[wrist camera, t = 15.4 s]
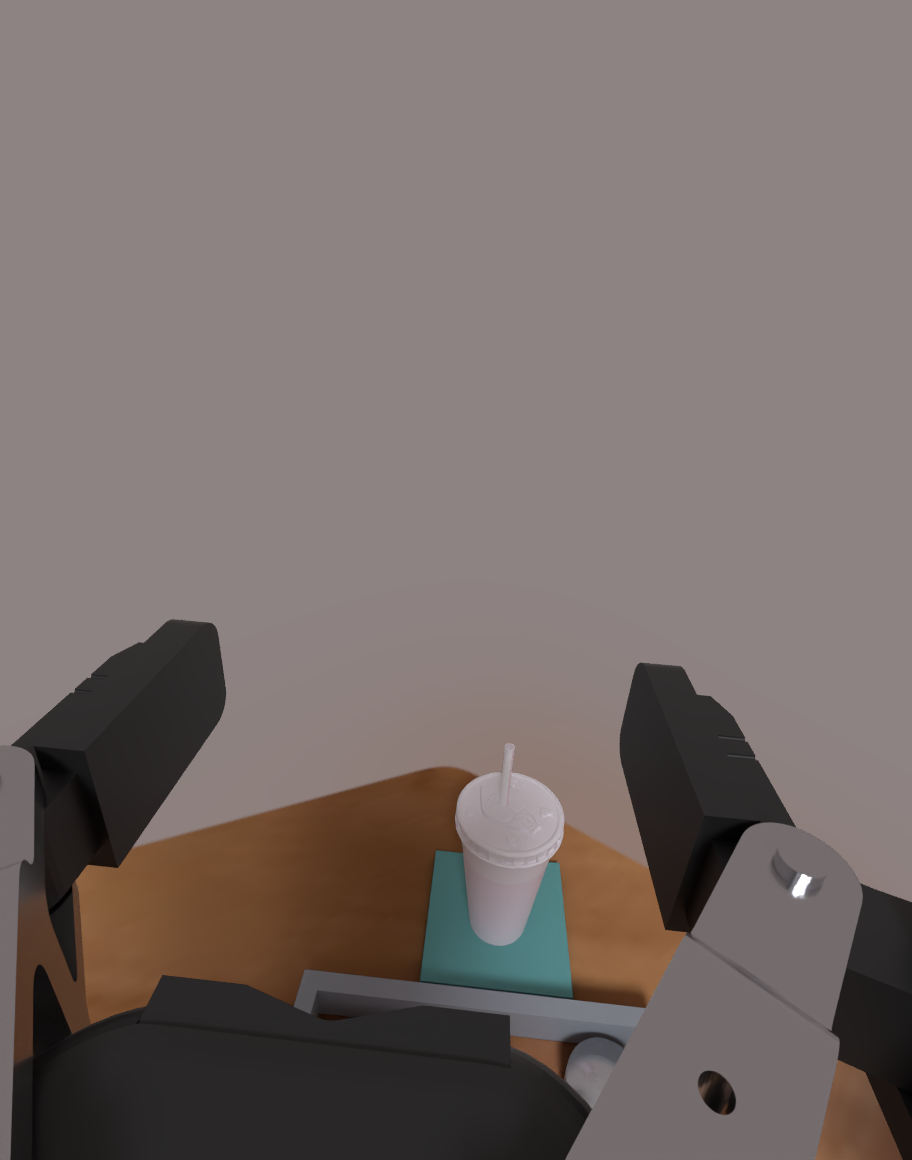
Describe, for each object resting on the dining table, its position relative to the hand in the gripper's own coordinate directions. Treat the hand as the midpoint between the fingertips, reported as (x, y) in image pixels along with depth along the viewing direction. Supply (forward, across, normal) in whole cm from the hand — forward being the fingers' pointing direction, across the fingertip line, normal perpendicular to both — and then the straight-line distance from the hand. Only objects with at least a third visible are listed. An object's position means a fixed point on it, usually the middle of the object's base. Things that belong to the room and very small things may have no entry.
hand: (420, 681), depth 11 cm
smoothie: (+15, -4, +30) cm, 34 cm away
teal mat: (+16, -4, +30) cm, 34 cm away
